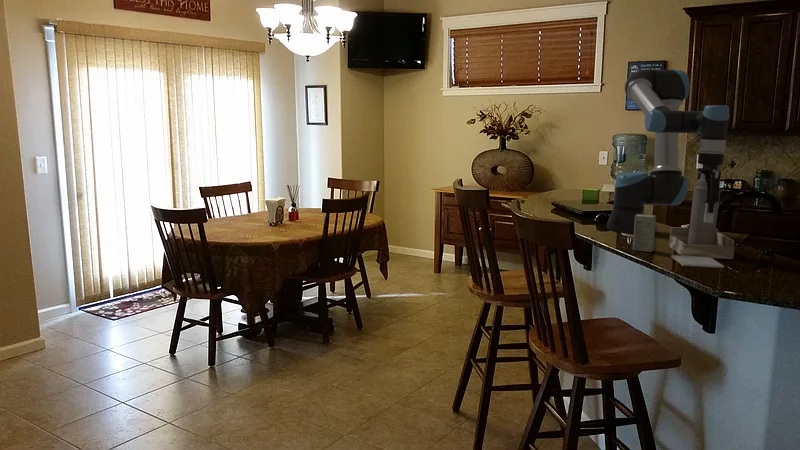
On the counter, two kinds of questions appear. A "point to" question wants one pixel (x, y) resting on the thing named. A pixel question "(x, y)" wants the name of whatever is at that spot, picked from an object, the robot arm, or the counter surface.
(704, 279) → the counter surface
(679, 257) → the ceramic tile
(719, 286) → the counter surface
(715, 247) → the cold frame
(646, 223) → the skincare box
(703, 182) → the thermos bottle
